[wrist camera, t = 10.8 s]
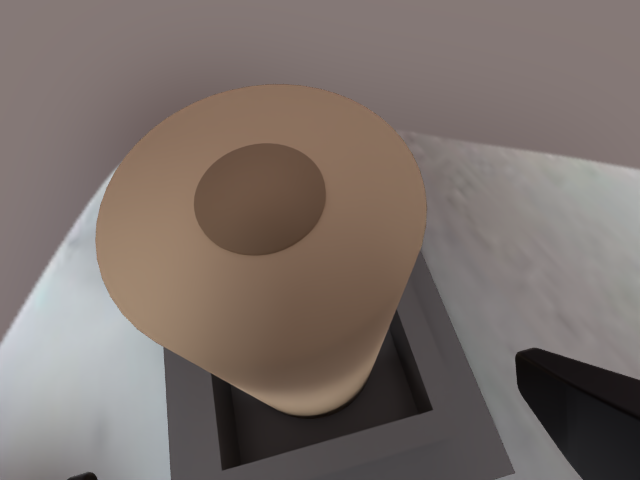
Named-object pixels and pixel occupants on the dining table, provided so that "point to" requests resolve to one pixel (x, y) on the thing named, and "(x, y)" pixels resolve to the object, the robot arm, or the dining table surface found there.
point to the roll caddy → (348, 414)
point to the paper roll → (266, 240)
